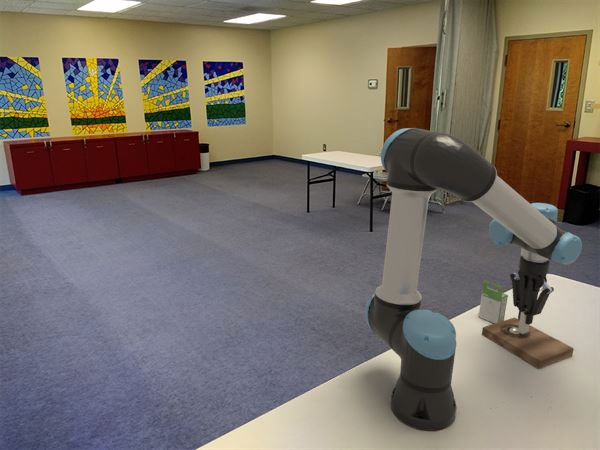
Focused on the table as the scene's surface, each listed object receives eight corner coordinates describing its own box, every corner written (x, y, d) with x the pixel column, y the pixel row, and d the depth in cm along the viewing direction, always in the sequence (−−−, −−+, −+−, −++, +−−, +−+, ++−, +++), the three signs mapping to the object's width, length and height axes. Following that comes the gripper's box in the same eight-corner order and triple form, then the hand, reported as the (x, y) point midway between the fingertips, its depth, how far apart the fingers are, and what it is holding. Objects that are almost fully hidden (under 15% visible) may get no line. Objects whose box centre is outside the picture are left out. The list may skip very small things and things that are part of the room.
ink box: (504, 322, 151) (509, 284, 147) (497, 325, 149) (502, 287, 145) (485, 313, 156) (489, 277, 152) (478, 317, 154) (482, 280, 150)
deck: (572, 355, 132) (573, 348, 131) (538, 368, 126) (540, 360, 126) (513, 324, 149) (514, 317, 149) (481, 334, 143) (482, 327, 143)
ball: (517, 342, 139) (515, 333, 138) (506, 338, 142) (505, 329, 141) (523, 336, 141) (521, 327, 140) (512, 332, 144) (511, 323, 143)
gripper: (565, 263, 127) (551, 339, 134) (524, 248, 138) (513, 319, 145) (546, 268, 124) (533, 345, 131) (506, 252, 135) (496, 324, 142)
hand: (523, 331), depth 138 cm, fingers closed
